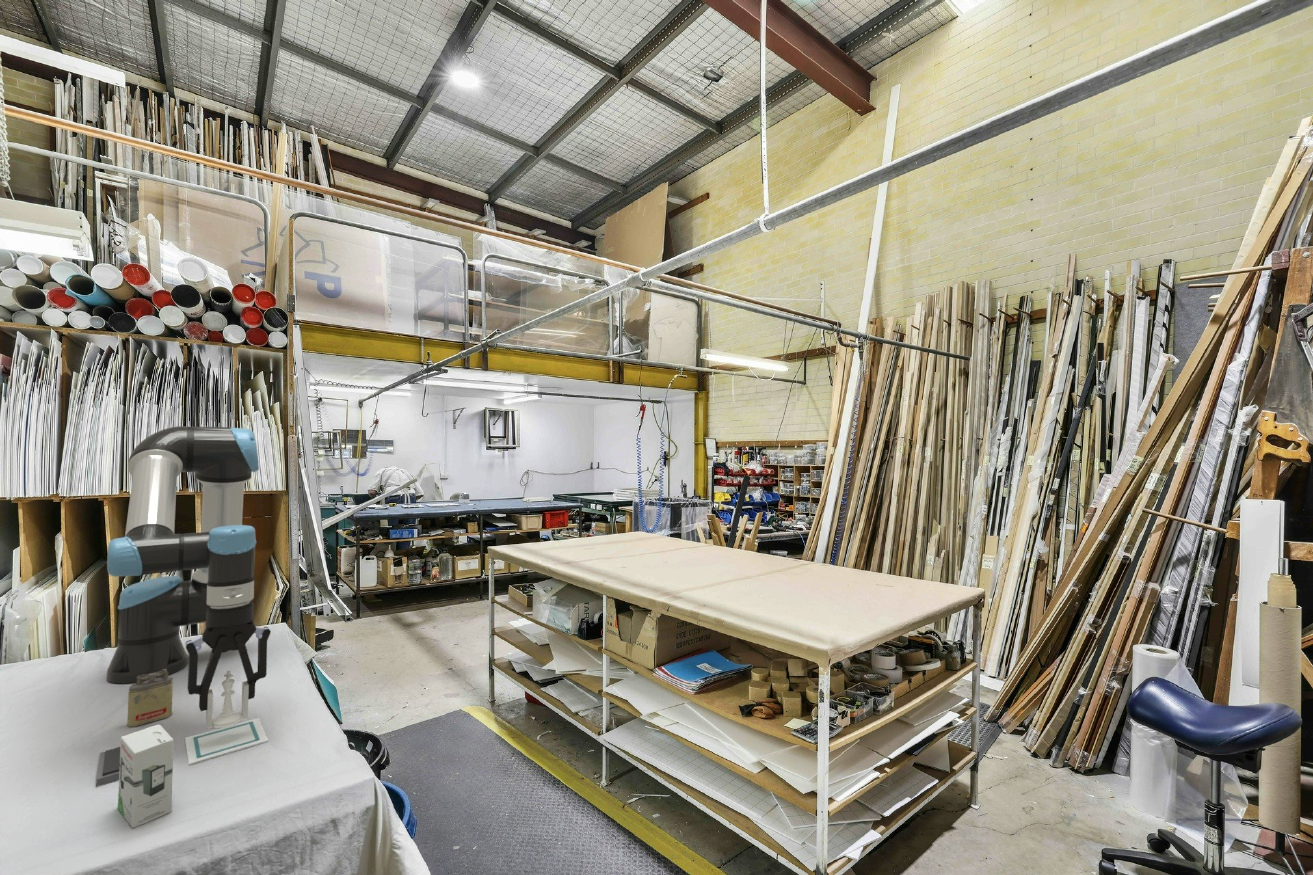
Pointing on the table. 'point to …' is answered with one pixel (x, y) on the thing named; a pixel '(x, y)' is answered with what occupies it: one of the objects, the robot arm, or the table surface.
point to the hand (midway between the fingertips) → (227, 719)
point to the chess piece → (227, 706)
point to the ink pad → (108, 766)
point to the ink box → (145, 775)
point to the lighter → (150, 698)
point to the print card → (224, 741)
